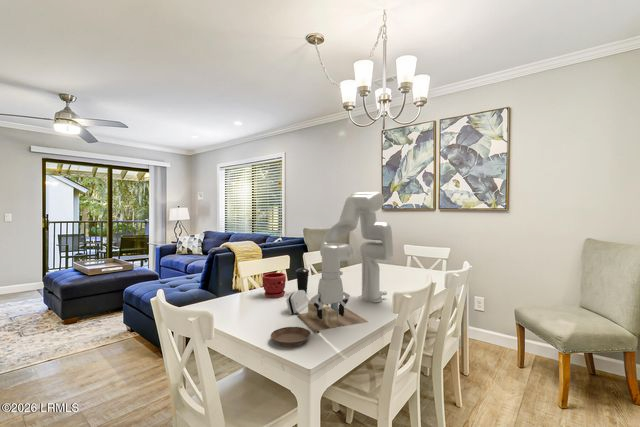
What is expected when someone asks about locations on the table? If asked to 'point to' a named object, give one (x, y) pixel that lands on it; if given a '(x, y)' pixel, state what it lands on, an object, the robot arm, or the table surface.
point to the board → (344, 320)
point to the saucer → (290, 336)
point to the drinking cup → (302, 278)
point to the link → (323, 314)
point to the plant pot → (274, 284)
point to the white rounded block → (297, 301)
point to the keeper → (335, 307)
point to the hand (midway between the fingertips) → (330, 316)
